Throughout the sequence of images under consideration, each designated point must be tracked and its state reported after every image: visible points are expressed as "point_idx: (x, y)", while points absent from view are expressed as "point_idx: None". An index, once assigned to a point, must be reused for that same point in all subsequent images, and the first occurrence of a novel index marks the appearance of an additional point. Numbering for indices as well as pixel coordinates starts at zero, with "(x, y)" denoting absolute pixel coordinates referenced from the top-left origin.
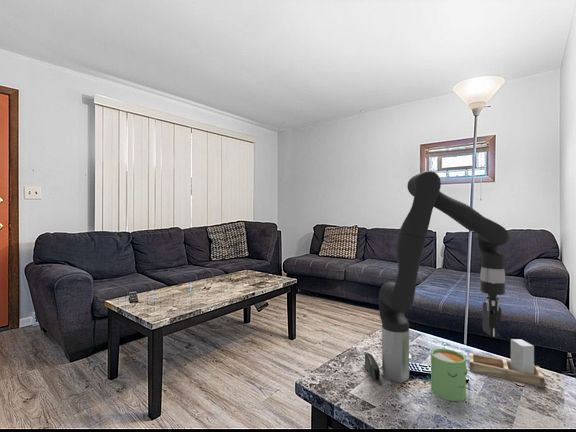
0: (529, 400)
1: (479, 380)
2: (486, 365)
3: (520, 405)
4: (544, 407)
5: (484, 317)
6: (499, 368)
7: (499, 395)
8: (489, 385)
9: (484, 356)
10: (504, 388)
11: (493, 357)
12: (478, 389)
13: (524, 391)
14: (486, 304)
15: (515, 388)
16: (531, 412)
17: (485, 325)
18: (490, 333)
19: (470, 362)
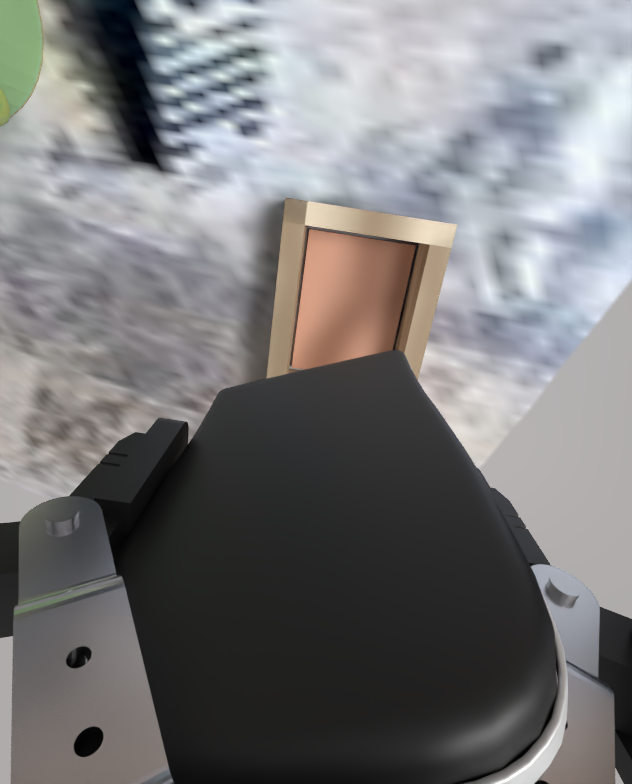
0: (108, 410)
1: (188, 235)
2: (282, 297)
3: (42, 367)
4: (83, 445)
5: (368, 432)
6: (273, 359)
7: (79, 302)
8: (157, 277)
9: (417, 312)
10: (163, 340)
11: (419, 361)
12: (81, 211)
13: (179, 413)
14: (288, 701)
15: (188, 386)
16: (12, 391)
17: (329, 391)
18: (219, 396)
19: (287, 203)
